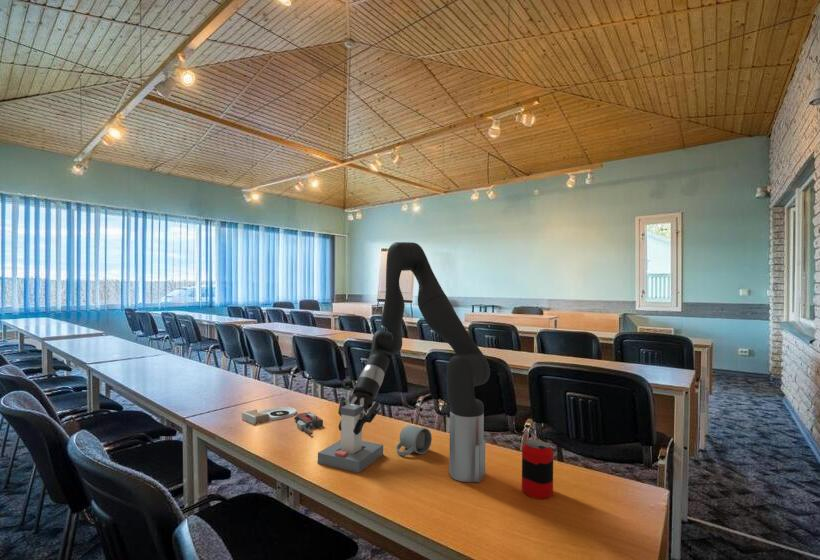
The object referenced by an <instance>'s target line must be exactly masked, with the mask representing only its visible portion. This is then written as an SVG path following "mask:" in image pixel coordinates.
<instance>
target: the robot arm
mask: <svg viewBox="0 0 820 560" xmlns="http://www.w3.org/2000/svg"><path fill="white" fill-rule="evenodd" d="M385 267H386V268H385V295H384V296H385V297H384V305H383V308H382V312H381V313H382V315H381V318H380V319H381V321H380V322H381V323H380V324H381V325H382V326H383V328H385V329H387V330H388V331H386V330H383V329H379V330H376V331H375V333H374V334H373V336H372V341H371V348H370V354H369V356H368V359H367V361H366V364H364V368H363V369H362V370H361V373H360V375H359V377H358V379H357V381H356V383H355V386H354V388H353V391H352V394H351V395H350V396H349V397H344V396H342V397H340V401H339V407H338V415H339V416H340V417H341V407H343V406H345V405H348V404H356V405H362V406H363V408H362V410H361V414H360V416H359V420H358V421H357V423H356V426H355V428H354V430H353V432H354V433H355V434H356V435H358V433H360V432H361V430H362V431H363V427H364V425H365V424H366V423H372V421H373V420H374V419H375V417H376V416H377V415H378V413H379V412H380V410H381V409H382V407H381V405H380V403H379V402H377V401H375V400H376V398H377V397H378V396H377V395H378V394H379V391H380V389H381V386H382V384H383V382H384V378H385V375H386V372H387V370H388V368H389V364H390V358H389V356H387V355H386V354H389V355H395V356H396V355H397V354H398V353H400V352H401V350H402V348H403V336H402V335H403V334H402V322H403V318H404V313H405V305H406V304H405V300H404V296H403V293H402V290H401V286H400V278H401V275H402V274H401V273H402V272H403V271H404V272H405V271H408V272H409V271H411V272H412V273H413V275H414V277H415V279H416V282H417V284H418V292H417V307H418V308H419V312H420V313H421V316H422V317H423V319H424V320H425V323H426V324H427V326H428V327H429V328H430V329H431V330H432V331H433V332H434V333H436V334H437V335H438V337H440V338H441V339H442V340H444V341H445V342H446V343H447V344H448V345H449V346H450V347H451V348H452V350H453V351H454V354H455V355H453V356H451V358H450V359H449V361H448V363H447V366H446V390H447V391H446V393H447V394H446V395H447V400H448V404H449V459H448V460H449V463H448V464H449V466H448V467H449V476H450V477H451V478H452V479H454V480H456V481H458V482H464V483H480V482H481V481H482V480H483V478H484V477H485V475H486V439H485V438H484V429H485V428H484V427H485V426H484V424H485V423H484V420H485V419H484V417H485V416H484V415H485V413H484V412H485V411H484V410H485V407H484V403H483V401H482V400H480V399H479V398H476V397H475V396H476V395H475V387H478V386H481V385H484V384H486V383H487V382H488V381H489V379H490V376H491V368H490V364H489V361H488V360H487V358H486V356H485V354H483V352H482V350H481V349H480V348H479V346H478V345H477V344H476V343H475V341H474V340H473V339H472V337H471V336H470V334H469V333H468V331H467V329H466V328H465V326H464V324H463V321H461V319H460V318H459V316H458V315H457V313H456V310H455V309H454V307H453V305H452V302H451V301H450V299H449V297H448V296H447V294H446V293H445V291H444V290H443V288H442V286H441V284H440V283H439V281H438V279H437V276H436V275H435V273H434V271H433V269H432V267H431V264H430V262H429V260H428V257H427V255H426V252H425V251H424V249H423V248H422V246H421V245H420V244H419V243H416V242H410V241H408V242H407V241H403V242H402V241H398V242H393V243H392V244H390V246H389V247H388V249H387V255H386V266H385ZM382 352H383V353H382ZM385 353H386V354H385ZM338 430H339V431H340V432H341V420H340V421H339V424H338Z"/></svg>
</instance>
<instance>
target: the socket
mask: <svg viewBox="0 0 820 560" xmlns="http://www.w3.org/2000/svg"><path fill="white" fill-rule="evenodd" d="M383 455H384V444H382V443H381V444H380V443H376V442H370V441H367V440H362V449H361V450H359V451H358V452H356V453H355V454H350V453H348V452H345V451H341V439H340V440H338V441H336V442H334V443H332V444H331V445H329V446H327V447H326V448H324V449H322V450H321V451H319V452H317V464H319V465H324V466H328V467H332V468H337V469H340V470H345V471H348V472H353V473H356V474H359V473H361V472H362V471H364V470H365V469H366V468H367V467H369V466H370V465H372V464H373V463H374V462H375V461H377V460H378V459H379V458H381V457H382V456H383Z"/></svg>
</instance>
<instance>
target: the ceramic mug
mask: <svg viewBox="0 0 820 560" xmlns="http://www.w3.org/2000/svg"><path fill="white" fill-rule="evenodd" d="M432 441H433V437H432V433H431V431H430V429H429V428H427V427H424V426H423V427H422V426H418V425H413V424H408V425H405V426H404V427H403V428H402V429H401V431H400V433H399V442H398V444H397V445H396V447H395V449H396V453H397V455H398V456H401V457H404V456H409V455H410V454H411V453H413V452H414V453H416V454H419V455H424V454H426V453H427V452H428V451H429V449H430V448H431V445H432ZM402 447H403V448H405V449H406V450H402V451H400V449H401V448H402Z"/></svg>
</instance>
